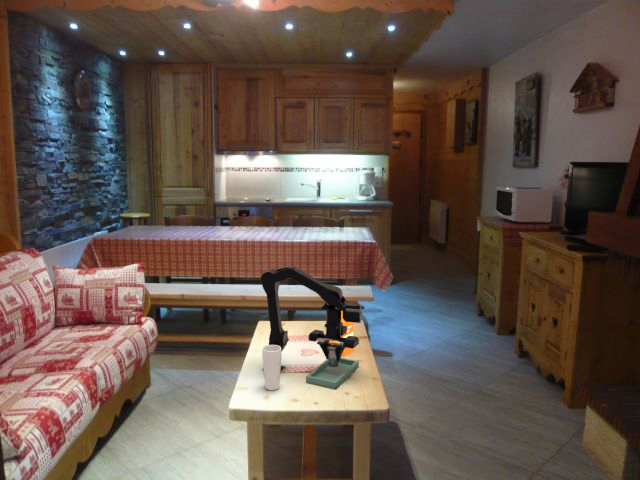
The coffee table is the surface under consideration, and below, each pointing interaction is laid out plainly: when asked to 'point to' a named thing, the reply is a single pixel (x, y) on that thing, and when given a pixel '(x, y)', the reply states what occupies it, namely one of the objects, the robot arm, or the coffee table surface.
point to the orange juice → (346, 335)
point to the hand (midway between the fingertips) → (333, 360)
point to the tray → (332, 373)
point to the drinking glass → (271, 366)
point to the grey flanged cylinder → (332, 354)
